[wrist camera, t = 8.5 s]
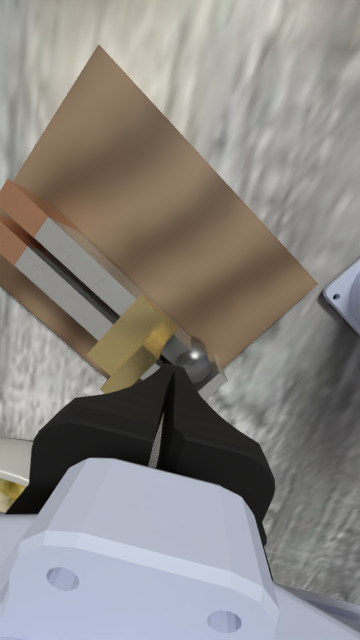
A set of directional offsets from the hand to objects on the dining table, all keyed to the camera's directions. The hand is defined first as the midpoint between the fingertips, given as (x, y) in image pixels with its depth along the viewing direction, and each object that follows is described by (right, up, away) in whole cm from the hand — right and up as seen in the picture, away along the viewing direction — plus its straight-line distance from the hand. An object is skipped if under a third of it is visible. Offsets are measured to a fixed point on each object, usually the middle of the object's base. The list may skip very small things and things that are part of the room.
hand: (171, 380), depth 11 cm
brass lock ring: (-3, +3, +3) cm, 5 cm away
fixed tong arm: (-4, +5, +4) cm, 8 cm away
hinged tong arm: (-4, +6, +4) cm, 8 cm away
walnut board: (-3, +8, +4) cm, 10 cm away
